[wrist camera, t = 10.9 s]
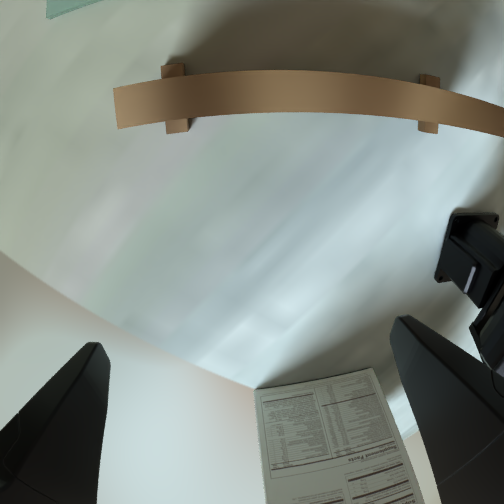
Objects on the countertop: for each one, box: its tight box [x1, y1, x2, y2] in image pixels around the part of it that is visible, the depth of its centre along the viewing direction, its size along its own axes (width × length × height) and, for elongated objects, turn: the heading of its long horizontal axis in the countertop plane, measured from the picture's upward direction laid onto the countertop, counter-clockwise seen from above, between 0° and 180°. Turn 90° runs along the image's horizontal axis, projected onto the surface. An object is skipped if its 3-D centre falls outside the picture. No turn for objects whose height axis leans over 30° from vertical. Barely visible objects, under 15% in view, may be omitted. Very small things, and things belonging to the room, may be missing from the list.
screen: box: [113, 63, 504, 137], centre depth 12 cm, size 18×4×8 cm, turn 93°
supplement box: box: [254, 368, 425, 504], centre depth 25 cm, size 13×13×18 cm
